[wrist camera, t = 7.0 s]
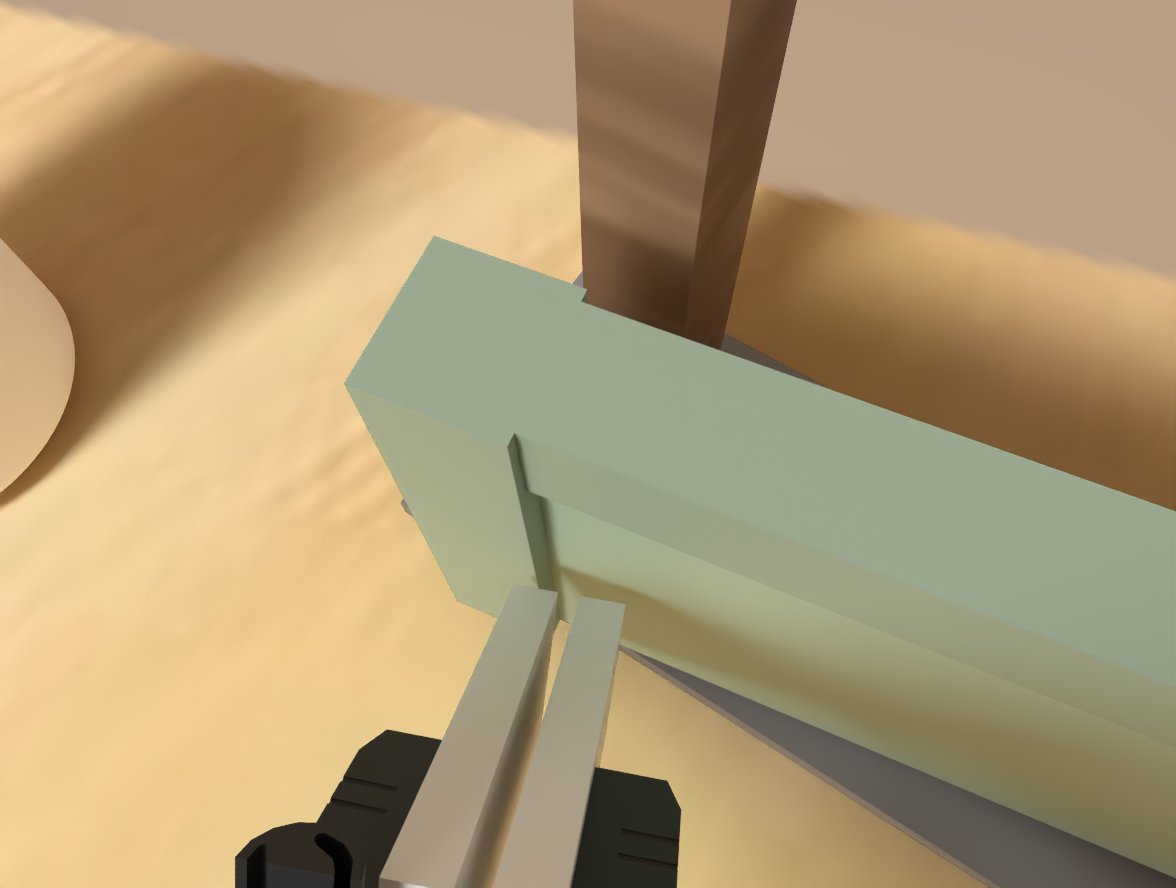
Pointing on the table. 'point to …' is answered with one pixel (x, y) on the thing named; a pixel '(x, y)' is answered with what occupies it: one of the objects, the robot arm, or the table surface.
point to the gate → (790, 543)
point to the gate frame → (750, 350)
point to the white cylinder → (30, 365)
